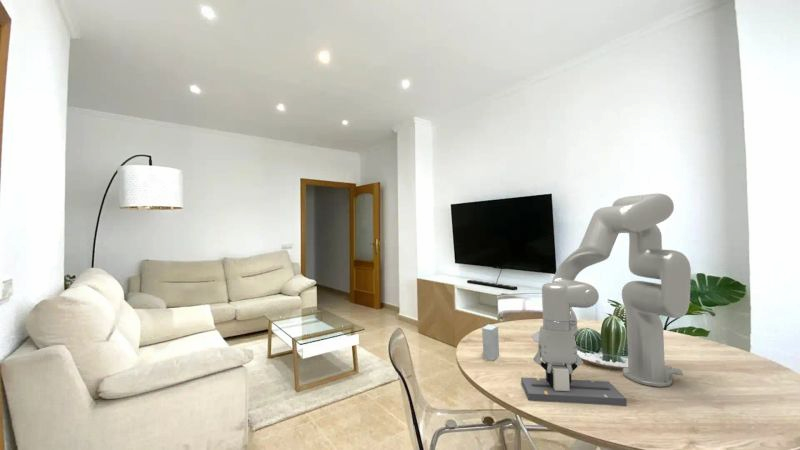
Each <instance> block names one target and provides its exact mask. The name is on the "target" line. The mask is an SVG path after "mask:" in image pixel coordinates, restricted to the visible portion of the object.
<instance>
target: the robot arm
mask: <svg viewBox="0 0 800 450" xmlns="http://www.w3.org/2000/svg"><path fill="white" fill-rule="evenodd" d="M674 207H675V205H674V201H673V199H672V198H671V197H670V196H669V195H667V194H664V193H657V192H656V193H647V194H639V195H630V196H629V195H628V196H624V197H619V198H617V199H616V200H614V202H613V203H612V206H605V207H600V208H598V209H596V210H595V211H594V212H593V214H592V217H590V218H591V219H590V221H589V223H588V226H587V228H586V230H585V233H584V236H583V238H582V240H581V242H580V244H579V247H578V248H577V249H576V250H575V251H573V252H571V254H569V255H568V256H567V257H566V258H565V259H564V260H563V261H562V262H561V263H560V264H559V266H558V267H557V268H556V271H555V274H554V276H553V278H552V281H551V282H546V283H543V284H542V286H541V302H542V304H541V306H542V326H540V327H539V331H538V332H539V342H538V343H537V344H538V345H537V346H538V347H537V350H538V351H537V352H536V354H535V356H534V357H533V361H534V363H535V364H537V365H539V366H540V367H542V368H543V369H544V370H545V378H546V381H547V382H548V383H549V384H550V386H553V373H552V370H551V369H552V363H563V364H564V365H565V366H566V368H567V369H568V370H569V387H570V383H571V380H572V374H573V372H574V371H576V370H577V368H578V367H579V366H581V365H583V364H584V361H583V360H582V358H581V357H580V356H579V354H578V349H577V348H576V341H575V336H574V332H573V330H572V328H571V327H572V326H573V325H576V323H575V321H572V320H571V311H570V308H579V309H580V308H581V309H588V308H591V307H594V306H595V305H596V304H597V303H598V301H599V295H600V294H599V291H598V290H597V289H596V287H595V286H593V285H592V284H589V283H586V282H583V281H578V280H575V279H576V278H577V276H578V275H579V274H580V273H581V272H582V271H583V270H584V269H586V268H588V267H590V266H591V267H592V266H593V265H596V264H598V263H601V262H604V261H606V260H607V259H609V258H610V256H611V253H612V251H613V249H614V248H613V247H614V246H615V243H616V241H617V238H618V236H619V234H628V237H629V238H628V239H629V240H628V242H629V243H628V245H629V246H628V269H629V272H631V274H633V275H634V276H637V277H641V278H646V279H652V280H653V279H654V280H660V283H657V282H651V281H644V280H632V281H629V282H626V283H625V284H623V285H624V286H623V287H622V289H621V299H622V302H623V305H624V310H625V319H626V342H627V343H626V344H627V345H626V346H627V366H628V367H627V366H625V367H624V368H622V373H623V375H624V376H625V377H626V378H627V379H629V380H631V381H633V382H635V383H638V384H641V385H645V386H649V387H659V388H660V387H661V388H664V387H668V386H671V385H672V381H673V380H672V378H671V376H672V375H673V376H683V373H684V372H683V370H682V369H681V368H673V366H671V365H666V364H665V342H664V341H665V340H664V325H663V322H662V319H661V317H660V316H662V317H667V318H671V319H672V318H673V319H679V318H683V317H684V316H686V314H687V313H688V310H689V308H690V303H691V302H690V301H691V282H692V281H691V279H692V276H691V274H692V273H691V272H692V271H691V270H692V269H691V263H690V261H689V259H688V257H687V256H686V255H685V254H684V253H683V252H680V251H677V250H673V249H663V243H662V241H663V240H662V238H663V237H662V236H663V235H662V232H661V229H660V228H659V226H658V224H660V223H662V222H665V221H666V220H667V219H669V218H670V217H671V216H672V214H673V212H674V209H675V208H674Z"/></svg>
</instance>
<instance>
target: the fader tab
mask: <svg viewBox="0 0 800 450" xmlns="http://www.w3.org/2000/svg"><path fill="white" fill-rule="evenodd" d="M551 370H552V373H553V388H554V389H555V390H557V391H570V388H569V370H568V369H567V368H566V366H565V365H564V364H563V363H552V369H551Z"/></svg>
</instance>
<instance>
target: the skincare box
mask: <svg viewBox="0 0 800 450" xmlns="http://www.w3.org/2000/svg"><path fill="white" fill-rule="evenodd" d="M481 329H482V330H481V331H482V333H481V334H482V355H483V356H482V357H483V359H484V360H487V361H488V360H489V361H491V362H494V361H495V360H496V359H498V357H499V356H500V345H499V326H498V325H495V324H489V323H488V324H485V326H483V327H482V328H481Z"/></svg>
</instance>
